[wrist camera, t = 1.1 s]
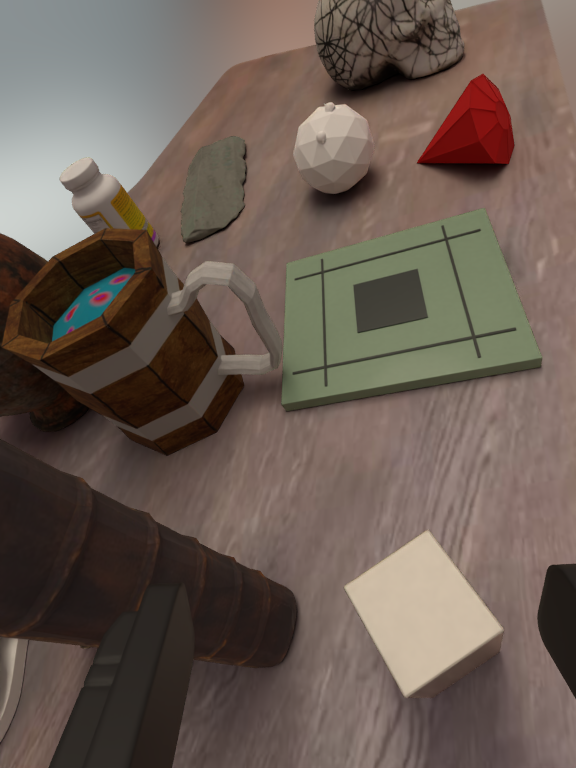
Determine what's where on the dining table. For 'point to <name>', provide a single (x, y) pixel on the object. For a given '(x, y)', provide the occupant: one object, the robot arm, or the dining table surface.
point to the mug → (137, 337)
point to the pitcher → (15, 375)
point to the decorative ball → (333, 148)
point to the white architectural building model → (10, 678)
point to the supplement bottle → (102, 199)
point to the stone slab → (213, 188)
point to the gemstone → (474, 129)
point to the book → (120, 570)
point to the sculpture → (385, 39)
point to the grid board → (403, 315)
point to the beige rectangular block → (424, 618)
